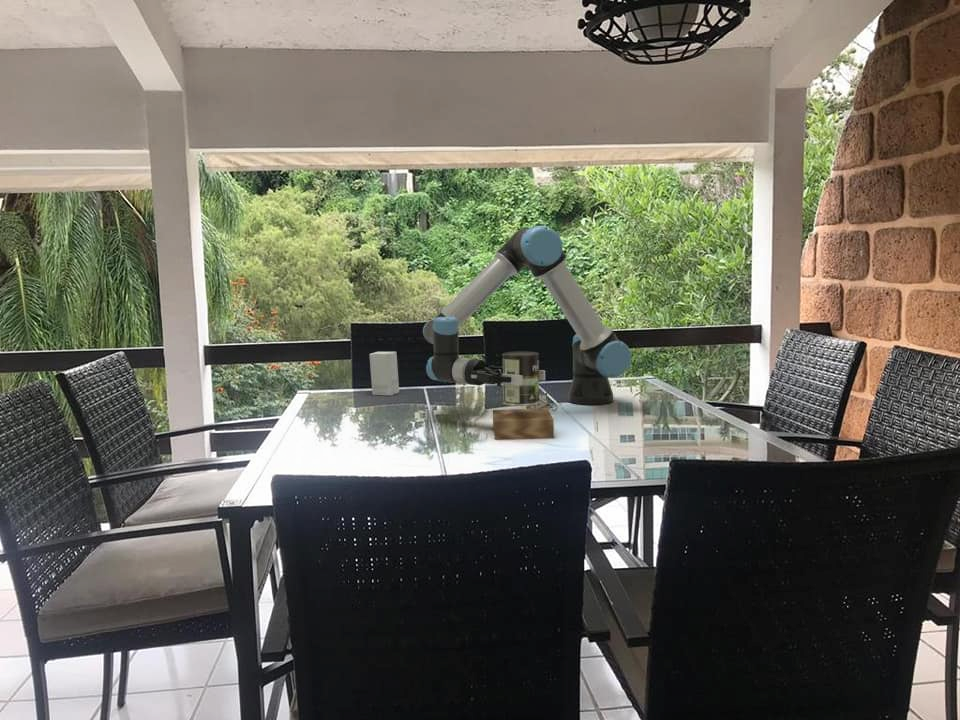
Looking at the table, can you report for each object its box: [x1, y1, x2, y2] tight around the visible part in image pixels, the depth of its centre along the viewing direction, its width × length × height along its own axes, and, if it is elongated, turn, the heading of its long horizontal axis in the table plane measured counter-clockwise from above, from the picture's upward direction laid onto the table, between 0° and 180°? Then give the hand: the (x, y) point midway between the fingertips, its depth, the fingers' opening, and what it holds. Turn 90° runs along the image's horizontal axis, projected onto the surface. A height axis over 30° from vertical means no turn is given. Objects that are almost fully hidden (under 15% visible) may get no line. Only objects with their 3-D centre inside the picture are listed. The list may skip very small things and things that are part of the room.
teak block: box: [492, 408, 555, 440], centre depth 219 cm, size 16×16×5 cm
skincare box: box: [369, 351, 400, 396], centre depth 287 cm, size 8×7×16 cm
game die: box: [525, 392, 554, 411], centre depth 237 cm, size 9×8×10 cm
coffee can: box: [501, 350, 540, 407], centre depth 218 cm, size 10×10×14 cm
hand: (533, 377), depth 215 cm, fingers closed on coffee can, 10 cm apart
